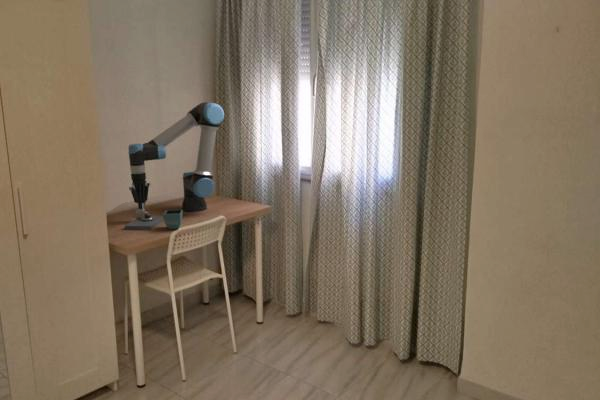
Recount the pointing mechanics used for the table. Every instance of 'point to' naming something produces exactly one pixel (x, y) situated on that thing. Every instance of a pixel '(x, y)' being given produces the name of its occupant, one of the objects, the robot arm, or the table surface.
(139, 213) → the dial lever
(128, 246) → the table surface
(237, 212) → the table surface
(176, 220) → the flower pot
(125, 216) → the table surface
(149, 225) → the dial plate
